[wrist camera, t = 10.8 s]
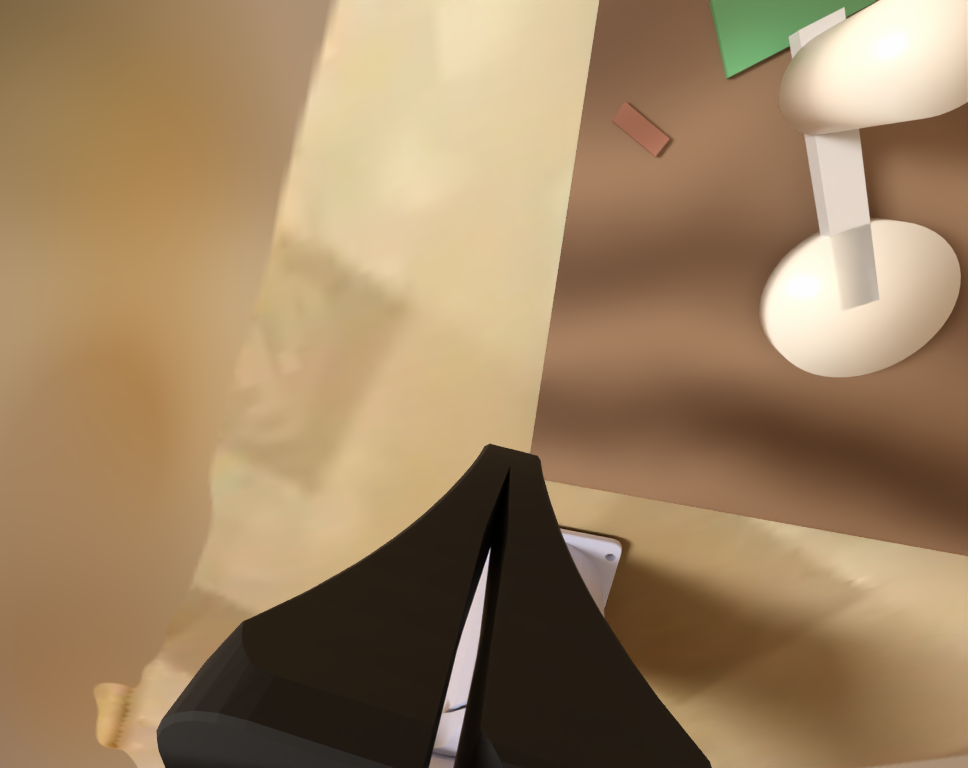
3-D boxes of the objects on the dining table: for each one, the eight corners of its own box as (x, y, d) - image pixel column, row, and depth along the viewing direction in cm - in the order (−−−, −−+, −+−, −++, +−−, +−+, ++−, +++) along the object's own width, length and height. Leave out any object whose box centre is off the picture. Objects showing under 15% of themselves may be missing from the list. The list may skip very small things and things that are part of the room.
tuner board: (950, 531, 19) (981, 561, 18) (529, 458, 22) (526, 479, 20) (1425, -84, 10) (1571, -128, 9) (613, -89, 13) (618, -124, 11)
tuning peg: (940, 337, 14) (1102, 411, 10) (773, 383, 16) (849, 463, 12) (914, -27, 11) (1145, -162, 7) (705, 79, 13) (776, 30, 8)
